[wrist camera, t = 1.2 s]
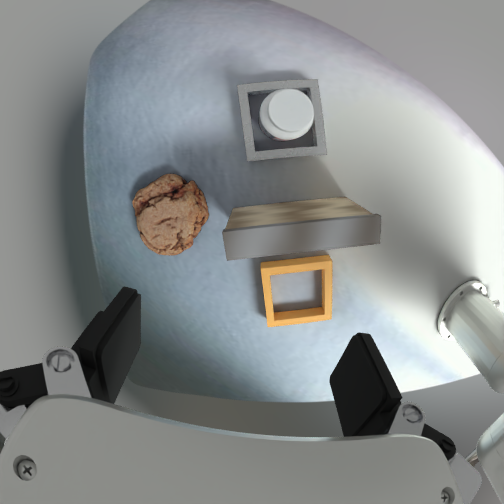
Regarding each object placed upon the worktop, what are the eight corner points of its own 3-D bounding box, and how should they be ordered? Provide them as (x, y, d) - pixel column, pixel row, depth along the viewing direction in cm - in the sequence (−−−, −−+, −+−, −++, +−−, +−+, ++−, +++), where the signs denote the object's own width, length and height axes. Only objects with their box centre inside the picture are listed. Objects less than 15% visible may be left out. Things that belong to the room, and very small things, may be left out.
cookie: (140, 251, 36) (132, 259, 33) (135, 174, 32) (124, 177, 29) (210, 254, 36) (206, 263, 33) (210, 172, 32) (205, 174, 29)
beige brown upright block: (345, 194, 32) (380, 216, 22) (345, 214, 33) (380, 243, 23) (232, 205, 33) (222, 232, 23) (235, 226, 34) (226, 260, 24)
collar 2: (328, 254, 35) (332, 260, 34) (328, 311, 39) (331, 319, 37) (260, 262, 36) (260, 268, 34) (267, 318, 39) (267, 327, 37)
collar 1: (314, 82, 28) (317, 79, 26) (322, 154, 31) (326, 154, 29) (238, 88, 28) (237, 85, 26) (247, 160, 31) (247, 161, 29)
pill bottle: (269, 148, 31) (274, 148, 22) (251, 109, 29) (249, 95, 21) (310, 132, 30) (329, 126, 22) (292, 93, 28) (305, 74, 20)
